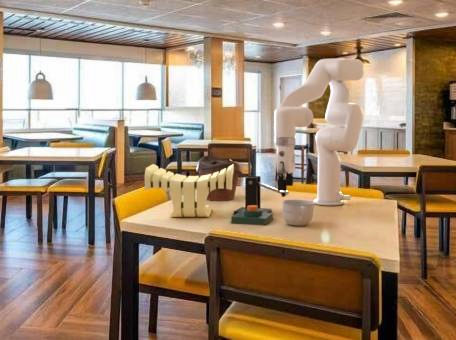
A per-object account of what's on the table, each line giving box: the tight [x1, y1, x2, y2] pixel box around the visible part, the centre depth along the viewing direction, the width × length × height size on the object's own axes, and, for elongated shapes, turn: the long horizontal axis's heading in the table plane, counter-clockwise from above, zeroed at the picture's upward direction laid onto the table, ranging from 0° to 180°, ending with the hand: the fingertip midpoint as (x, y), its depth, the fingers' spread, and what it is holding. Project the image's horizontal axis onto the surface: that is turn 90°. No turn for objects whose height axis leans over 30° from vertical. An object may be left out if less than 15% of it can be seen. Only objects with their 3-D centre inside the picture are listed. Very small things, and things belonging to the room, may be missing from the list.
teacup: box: [282, 199, 315, 227], centre depth 182 cm, size 14×11×8 cm
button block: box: [230, 208, 274, 226], centre depth 188 cm, size 12×10×4 cm
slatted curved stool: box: [144, 163, 234, 218], centre depth 197 cm, size 30×16×18 cm, turn 96°
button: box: [247, 205, 258, 211], centre depth 188 cm, size 4×4×2 cm
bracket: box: [233, 175, 273, 216], centre depth 201 cm, size 12×9×14 cm
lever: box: [257, 179, 290, 198], centre depth 199 cm, size 15×5×2 cm, turn 80°
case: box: [196, 155, 244, 202], centre depth 230 cm, size 18×20×18 cm
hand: (285, 187), depth 199 cm, fingers open, 9 cm apart
